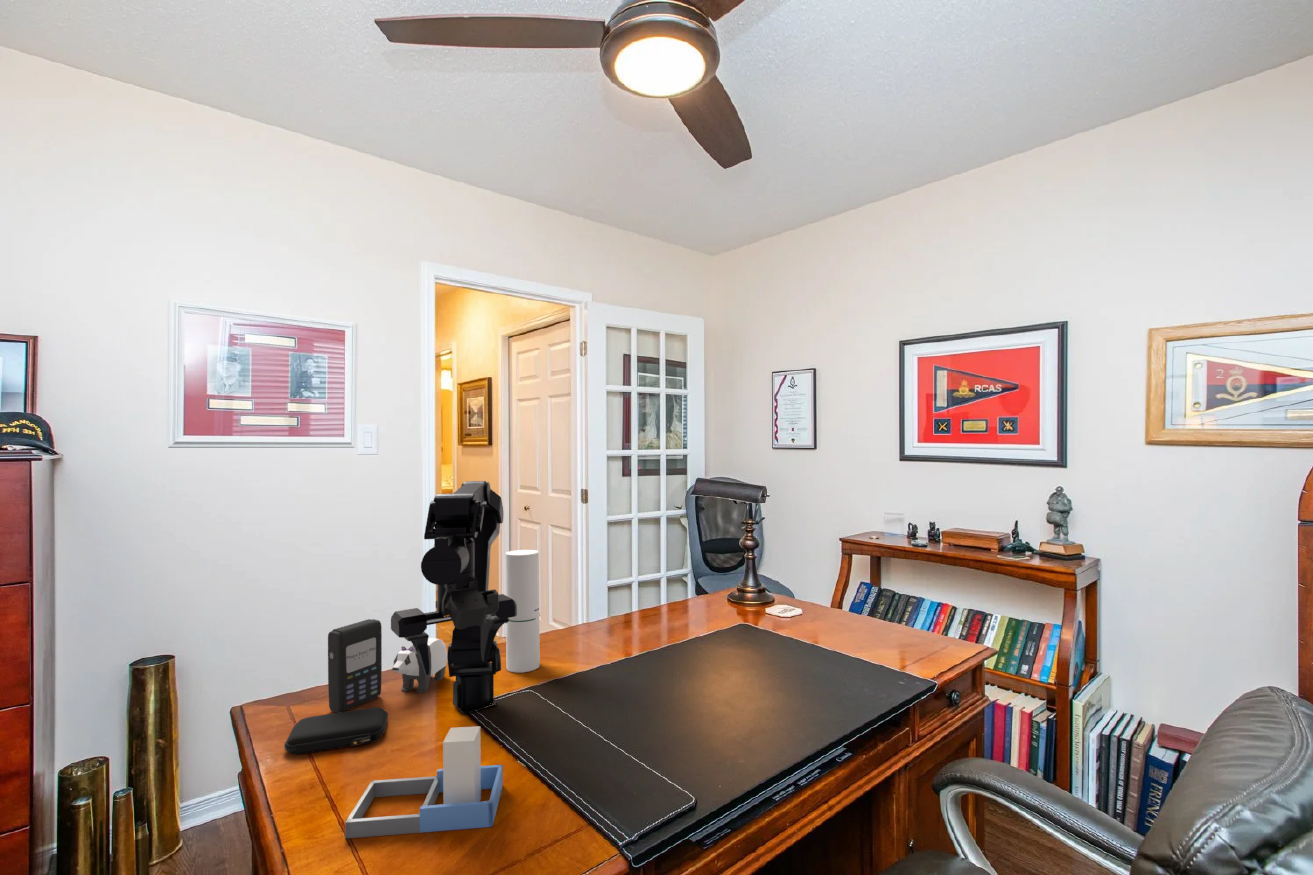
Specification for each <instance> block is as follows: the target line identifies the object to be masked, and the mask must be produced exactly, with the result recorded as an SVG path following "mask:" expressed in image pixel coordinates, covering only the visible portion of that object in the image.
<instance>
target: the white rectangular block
mask: <svg viewBox="0 0 1313 875" xmlns="http://www.w3.org/2000/svg"><path fill="white" fill-rule="evenodd" d="M481 742H482V741H481V726H480V725H479V726H461V727H459V726H458V727H450V729H449V730H448V733H447V734H446V736H445V738H444V740H443V741H442V769H443V792H442V793H443V795H442V796H443V799H442V800H443V801H442V802H443V804H454V803H467V802H480V801H481V799H482V789H481V766H482V764H481V763H482V762H481V761H482V758H481V757H482V756H481V755H482V754H481V753H482V752H481V745H482V744H481Z"/></svg>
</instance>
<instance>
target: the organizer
mask: <svg viewBox="0 0 1313 875" xmlns="http://www.w3.org/2000/svg"><path fill="white" fill-rule="evenodd" d="M503 767H504V765H503V764H493V765H481V790H491V792H490V797H489V800H484V801H481V800H480V802H467V803H454V804H436V801H437V799H438V796H439V794H440V793H443V768H438V769H437V771H436V776H435V775H434V776H421V777H406V778H391V779H378V780H371V782H370V783H369V784H368V786H367V787H366V789H365V790H364V792H363V794H362V795H361V797H360V799H359V800H358V802H357V804H356V805H355V806H354V808H353V810H352V811H351V813H350V814H349V816H348V817H347V819H346V820H345V822H344V830H345V831H344V832H345V833H344V835H345V838H344V839H355V838H367V837H369V838H370V837H380V836H381V837H382V836H395V835H405V834H419V833H431V832H444V831H454V830H455V831H456V830H468V829H478V828H479V829H481V828H491V827H493V826H494V822H495V818H496V814H497V810H498V806H499V803H500V800H501V799H500V798H501V795H502V791H503V786H504V772H503V771H504V768H503ZM422 794H423V795H425V794H427V795H426V797H425V800H424V802H423V804H422V805H421V806H420V807H419V812H418V813H416V814H401V815H388V816H375V817H364V815H365V813H366V811H367V810H368V809H369V807H370V805H371V803H372V802H373V800H374V798H382V797H395V796H396V797H397V796H410V795H422Z"/></svg>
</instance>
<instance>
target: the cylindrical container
mask: <svg viewBox="0 0 1313 875" xmlns="http://www.w3.org/2000/svg"><path fill="white" fill-rule="evenodd" d="M539 553H540V552H539V550H536V549H517V550H516V549H515V550H509V551H506V552H505V595H506V596H508V597H510V598H512V599H513V600H514V601H515V602H516V605H517V616H515V617H510V618H508V619H509V622H508V623H505V627H506V628H505V631H506V632H505V636H506V637H505V638H506V639H505V641H506V643H505V644H506V645H505V646H506V648H505V650H506V654H505V657H506V663H505V664H506V666H505V667H506V670H507V671H508V672H511V673H526V672H527V673H528V672H532V671H536V669H537V670H538V668H540V666H541V665H540V663H541V656H540V655H541V654H540V653H541V652H540V651H541V650H540V648H541V647H540V645H541V644H540V643H541V642H540V556H539V555H540V554H539Z"/></svg>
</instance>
